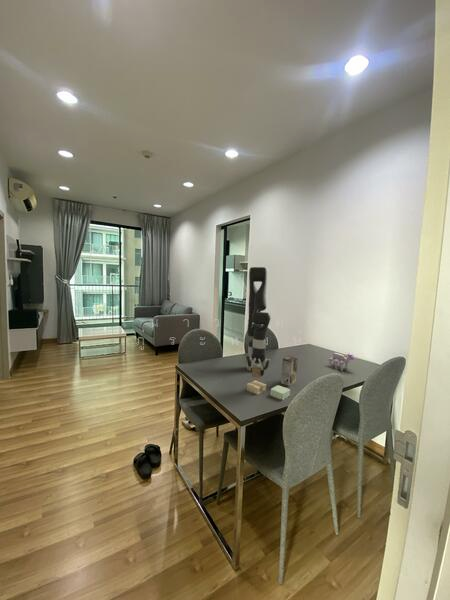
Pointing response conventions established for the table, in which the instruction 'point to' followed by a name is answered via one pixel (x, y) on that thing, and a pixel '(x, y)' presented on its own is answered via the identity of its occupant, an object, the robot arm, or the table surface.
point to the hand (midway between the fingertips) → (257, 374)
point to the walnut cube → (256, 371)
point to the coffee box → (289, 370)
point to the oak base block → (256, 387)
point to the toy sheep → (341, 359)
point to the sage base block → (280, 392)
